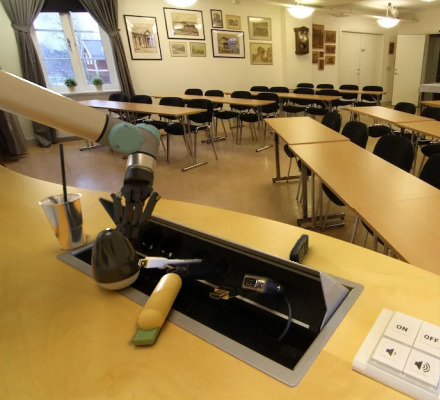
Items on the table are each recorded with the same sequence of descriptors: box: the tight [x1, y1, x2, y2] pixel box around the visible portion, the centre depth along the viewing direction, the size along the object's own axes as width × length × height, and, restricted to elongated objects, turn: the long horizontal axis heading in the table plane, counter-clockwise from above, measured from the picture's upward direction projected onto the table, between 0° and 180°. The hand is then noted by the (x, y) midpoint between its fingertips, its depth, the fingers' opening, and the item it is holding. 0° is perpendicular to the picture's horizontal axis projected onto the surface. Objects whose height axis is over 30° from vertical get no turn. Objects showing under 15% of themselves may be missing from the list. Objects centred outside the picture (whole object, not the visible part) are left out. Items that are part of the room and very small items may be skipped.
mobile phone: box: [288, 233, 310, 264], centre depth 93 cm, size 5×3×15 cm
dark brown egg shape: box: [90, 224, 142, 291], centre depth 78 cm, size 10×10×15 cm
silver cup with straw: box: [37, 143, 87, 251], centre depth 95 cm, size 11×11×30 cm
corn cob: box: [132, 272, 183, 346], centre depth 70 cm, size 5×20×5 cm, turn 6°
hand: (126, 251), depth 84 cm, fingers closed
